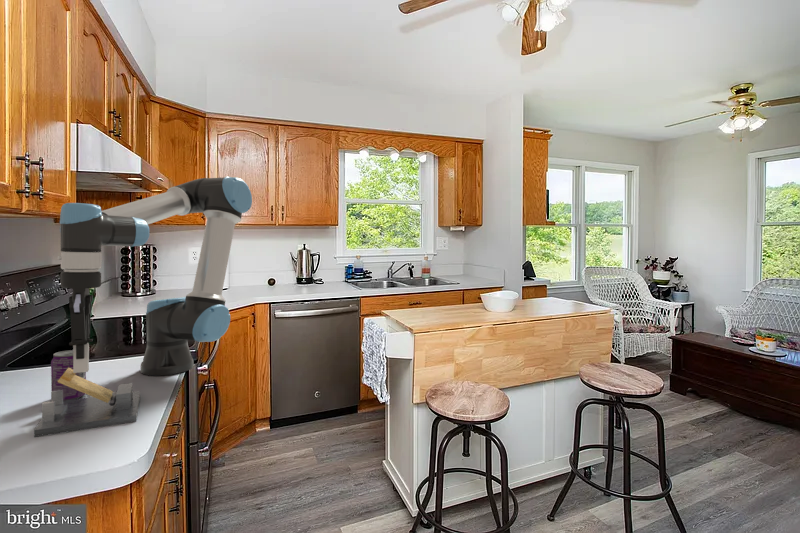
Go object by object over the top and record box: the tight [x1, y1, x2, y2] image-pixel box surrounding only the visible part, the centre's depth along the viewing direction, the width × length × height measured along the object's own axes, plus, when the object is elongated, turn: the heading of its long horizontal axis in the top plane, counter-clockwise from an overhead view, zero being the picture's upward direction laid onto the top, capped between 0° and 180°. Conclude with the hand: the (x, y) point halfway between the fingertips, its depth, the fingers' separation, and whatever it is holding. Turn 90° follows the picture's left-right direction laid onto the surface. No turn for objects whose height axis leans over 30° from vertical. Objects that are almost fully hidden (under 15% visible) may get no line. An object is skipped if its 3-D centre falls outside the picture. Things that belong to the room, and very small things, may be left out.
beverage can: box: [50, 349, 87, 401], centre depth 110 cm, size 7×7×12 cm
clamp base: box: [33, 382, 141, 438], centre depth 100 cm, size 18×18×6 cm
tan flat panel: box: [57, 367, 117, 406], centre depth 99 cm, size 7×13×2 cm
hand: (81, 371), depth 98 cm, fingers closed
